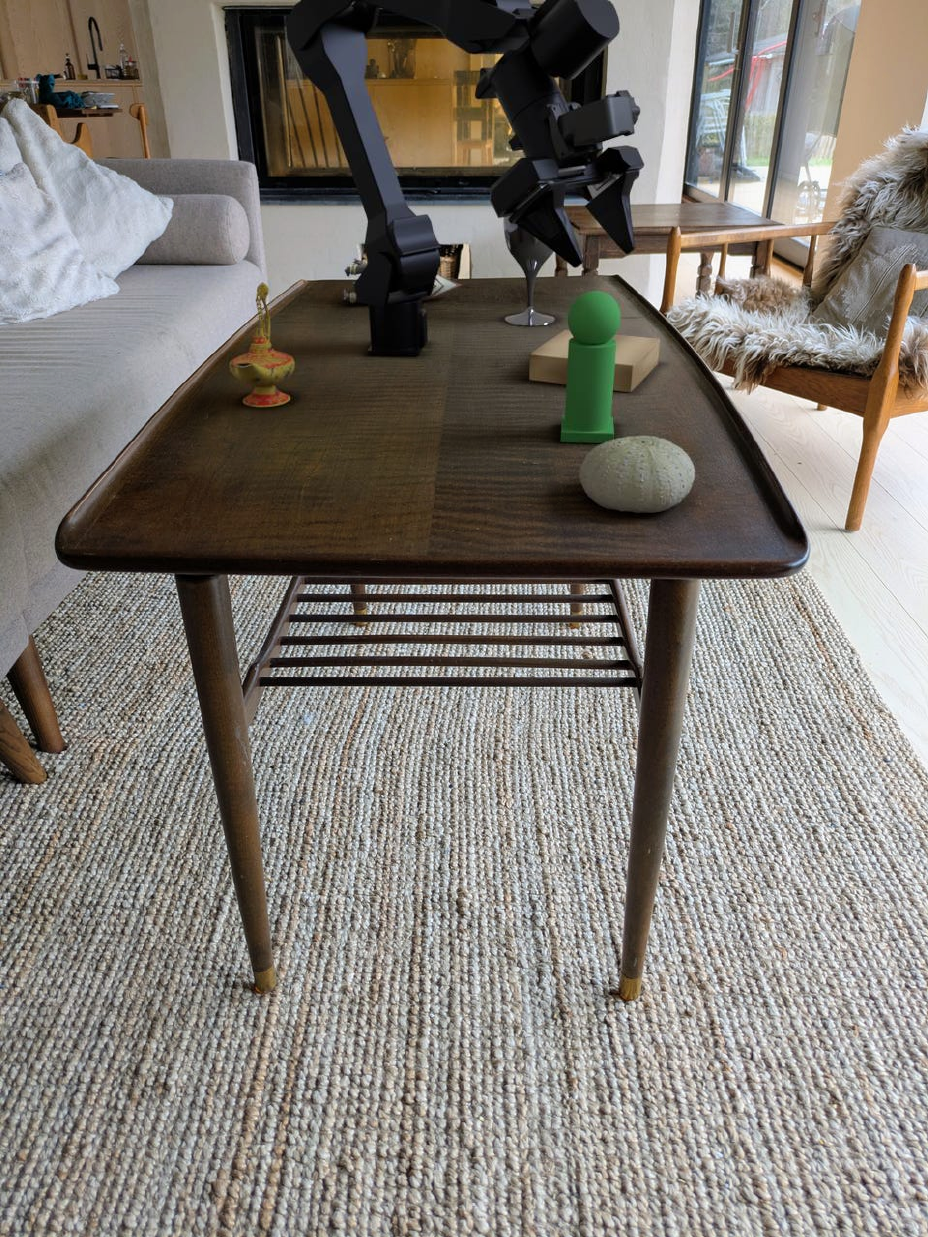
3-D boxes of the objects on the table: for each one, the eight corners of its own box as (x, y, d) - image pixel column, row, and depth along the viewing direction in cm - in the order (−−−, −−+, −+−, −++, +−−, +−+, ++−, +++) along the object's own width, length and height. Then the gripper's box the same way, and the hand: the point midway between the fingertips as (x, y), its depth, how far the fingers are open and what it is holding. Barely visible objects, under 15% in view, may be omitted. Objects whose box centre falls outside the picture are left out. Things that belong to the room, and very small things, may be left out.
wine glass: (567, 316, 129) (573, 202, 121) (541, 328, 123) (545, 209, 116) (519, 310, 133) (521, 198, 125) (491, 321, 127) (492, 205, 119)
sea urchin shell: (560, 457, 78) (630, 390, 75) (618, 513, 81) (687, 451, 79) (581, 500, 70) (660, 427, 67) (644, 561, 73) (722, 493, 71)
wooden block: (529, 380, 104) (529, 353, 102) (563, 353, 113) (564, 329, 111) (630, 392, 99) (633, 365, 98) (658, 363, 109) (660, 338, 107)
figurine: (368, 250, 147) (470, 254, 144) (369, 290, 150) (469, 294, 147) (328, 265, 129) (442, 270, 126) (330, 309, 132) (442, 315, 129)
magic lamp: (216, 434, 89) (197, 320, 84) (246, 380, 105) (232, 280, 99) (285, 433, 89) (272, 319, 84) (305, 379, 105) (295, 279, 99)
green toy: (560, 441, 87) (567, 297, 80) (561, 424, 91) (568, 285, 84) (613, 443, 86) (624, 297, 79) (611, 425, 90) (622, 285, 83)
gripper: (532, 54, 77) (612, 224, 78) (649, 54, 89) (716, 201, 90) (455, 138, 86) (528, 289, 87) (571, 127, 97) (633, 261, 99)
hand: (606, 258), depth 90 cm, fingers open, 9 cm apart
